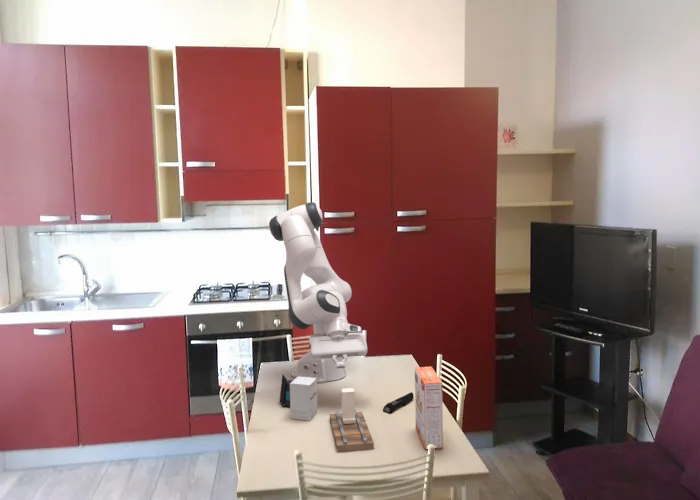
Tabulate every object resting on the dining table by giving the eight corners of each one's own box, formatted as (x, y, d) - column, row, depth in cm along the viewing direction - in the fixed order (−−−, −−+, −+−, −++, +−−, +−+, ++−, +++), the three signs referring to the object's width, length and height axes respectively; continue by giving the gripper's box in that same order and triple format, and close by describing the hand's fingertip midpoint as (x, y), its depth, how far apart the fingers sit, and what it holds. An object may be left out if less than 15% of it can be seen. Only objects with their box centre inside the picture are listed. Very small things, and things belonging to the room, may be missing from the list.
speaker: (277, 407, 189) (279, 379, 188) (279, 401, 195) (281, 374, 194) (298, 409, 189) (300, 381, 188) (300, 403, 195) (302, 376, 194)
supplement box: (310, 421, 178) (309, 385, 177) (290, 418, 180) (288, 383, 179) (318, 412, 185) (317, 377, 184) (298, 409, 187) (297, 375, 186)
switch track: (329, 419, 179) (329, 411, 179) (361, 417, 180) (361, 408, 180) (337, 452, 157) (337, 442, 157) (373, 448, 159) (373, 439, 158)
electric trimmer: (416, 401, 194) (416, 393, 193) (390, 415, 182) (390, 406, 182) (407, 398, 196) (408, 390, 196) (381, 412, 185) (381, 403, 184)
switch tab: (341, 417, 175) (340, 387, 174) (353, 416, 176) (352, 386, 174) (343, 424, 170) (342, 393, 169) (355, 423, 171) (355, 392, 170)
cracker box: (414, 428, 171) (414, 366, 169) (432, 427, 172) (432, 365, 169) (423, 450, 157) (423, 382, 155) (443, 449, 158) (443, 381, 155)
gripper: (308, 330, 189) (310, 365, 181) (365, 326, 191) (370, 361, 183) (308, 338, 194) (310, 373, 186) (363, 335, 196) (368, 369, 188)
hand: (340, 367), depth 184 cm, fingers closed
